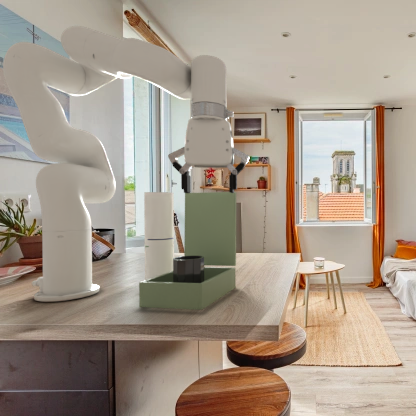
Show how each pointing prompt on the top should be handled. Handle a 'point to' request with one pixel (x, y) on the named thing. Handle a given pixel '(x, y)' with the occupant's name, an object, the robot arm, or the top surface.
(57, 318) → the top surface
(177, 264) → the cup
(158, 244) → the cylindrical container
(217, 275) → the open green box
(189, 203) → the lid
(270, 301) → the top surface
